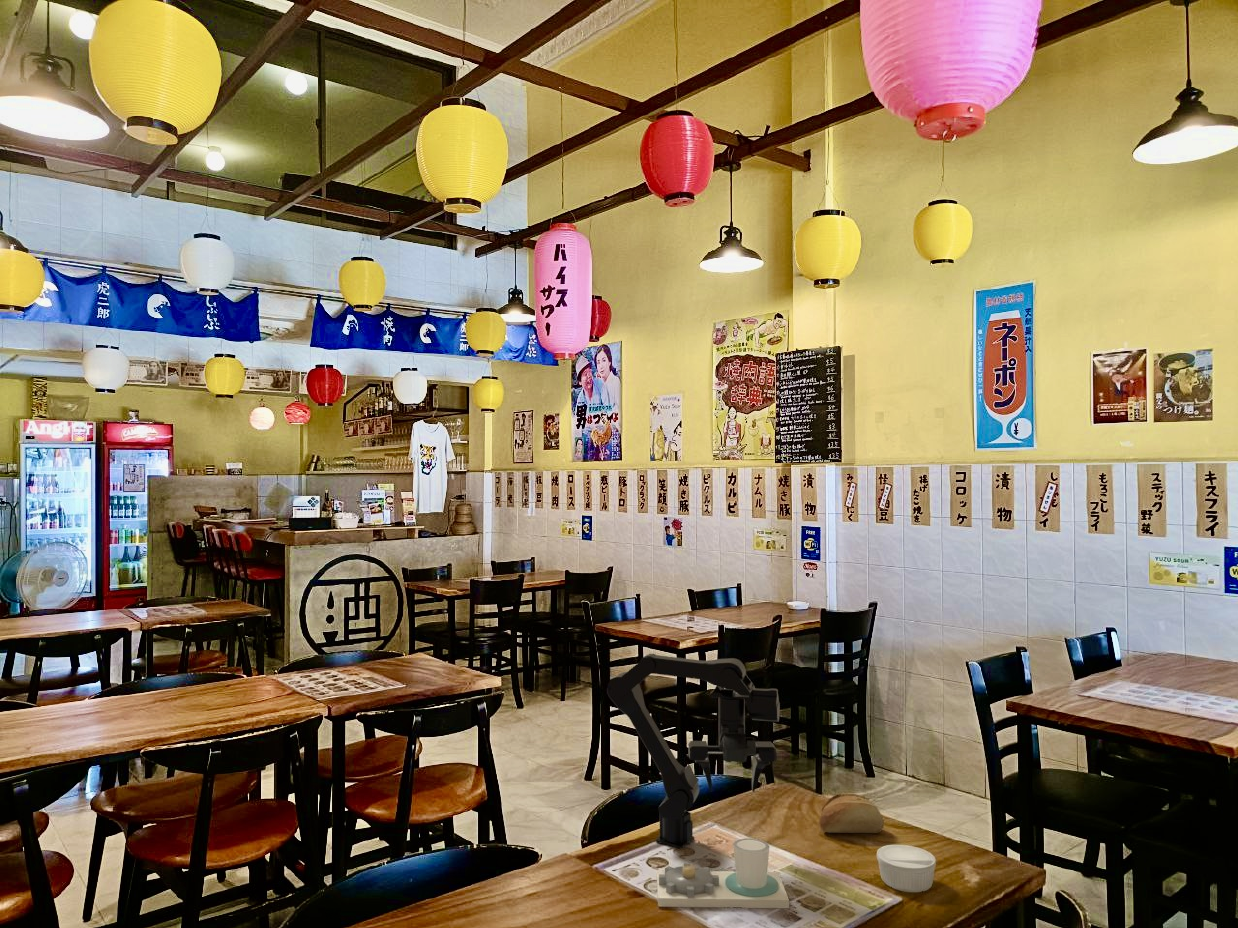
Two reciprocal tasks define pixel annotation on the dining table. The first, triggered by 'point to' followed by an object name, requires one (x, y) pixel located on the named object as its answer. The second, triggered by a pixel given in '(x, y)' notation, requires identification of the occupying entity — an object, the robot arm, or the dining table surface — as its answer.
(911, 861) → the ramekin
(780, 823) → the dining table surface
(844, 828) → the bread roll
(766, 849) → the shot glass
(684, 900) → the gear board
